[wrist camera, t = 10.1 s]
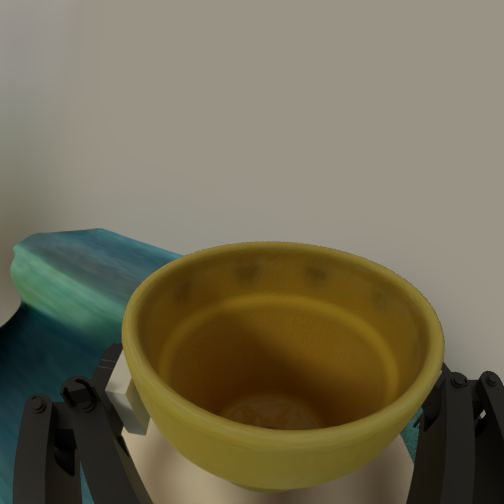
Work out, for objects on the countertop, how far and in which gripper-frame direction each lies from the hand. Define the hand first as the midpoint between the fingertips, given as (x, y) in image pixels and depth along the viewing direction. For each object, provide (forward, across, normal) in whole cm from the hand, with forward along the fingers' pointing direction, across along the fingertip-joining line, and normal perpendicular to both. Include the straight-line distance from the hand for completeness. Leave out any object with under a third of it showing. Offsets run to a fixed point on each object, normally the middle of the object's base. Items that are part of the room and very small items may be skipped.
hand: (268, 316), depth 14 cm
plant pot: (-4, 0, -6) cm, 7 cm away
